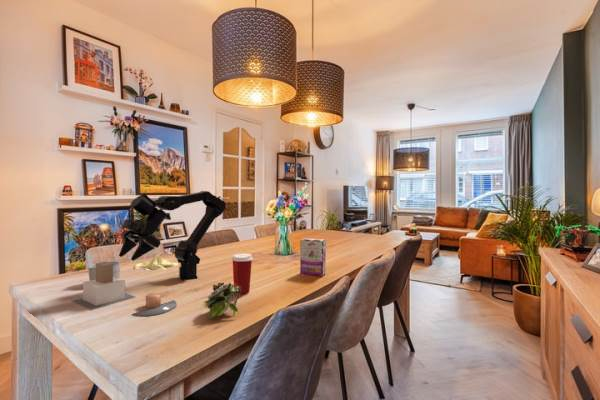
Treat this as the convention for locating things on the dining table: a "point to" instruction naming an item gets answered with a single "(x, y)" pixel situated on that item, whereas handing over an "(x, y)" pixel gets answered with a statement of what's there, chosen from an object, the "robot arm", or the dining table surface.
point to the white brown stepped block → (103, 286)
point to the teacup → (115, 270)
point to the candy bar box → (313, 256)
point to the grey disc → (156, 306)
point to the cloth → (155, 264)
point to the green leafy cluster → (221, 299)
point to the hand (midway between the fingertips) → (125, 258)
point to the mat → (91, 306)
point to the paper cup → (242, 272)
